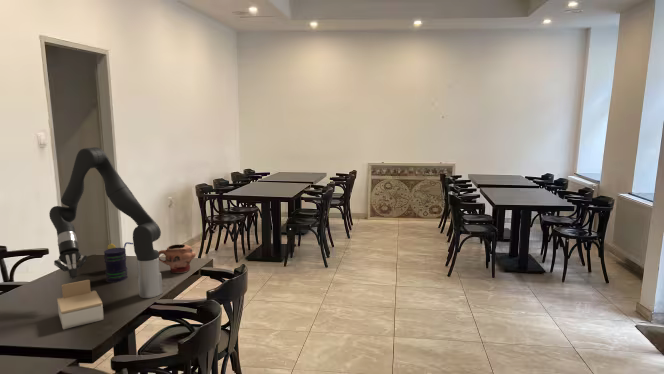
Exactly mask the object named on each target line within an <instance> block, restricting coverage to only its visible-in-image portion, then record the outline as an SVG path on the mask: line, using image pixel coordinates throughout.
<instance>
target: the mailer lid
mask: <svg viewBox="0 0 664 374" xmlns="http://www.w3.org/2000/svg"><path fill="white" fill-rule="evenodd" d="M61 290H62V297H57V299H56V301H57V305H58V304H59V307H60V310H61V314H63V313H68V312H72V311H76V310H81V309H85V308H90V307H94V306H99V305H103V301H102V299H101V298H100V296H99V294H98V293H97V291H96V290H92V291H91V280H90V279H85V280H80V281H75V282H73V281H72V282H69V283H65V284H61Z"/></svg>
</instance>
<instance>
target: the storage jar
mask: <svg viewBox="0 0 664 374" xmlns="http://www.w3.org/2000/svg"><path fill="white" fill-rule="evenodd" d="M125 249H126V247H125V248H124V247H116V248H112V249H105V250H104V251H103V253H104V256H103V258H104V263H105V271H104V272H105V278H106V282H108V283H118V281H119V282H122V281H125V280H127V279H128V267H127V262H126V261H127V253H126V252H125Z"/></svg>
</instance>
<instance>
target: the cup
mask: <svg viewBox="0 0 664 374" xmlns="http://www.w3.org/2000/svg"><path fill="white" fill-rule="evenodd" d="M127 245H134V244H133V242H127V241H126V242H125V243H124V246H123V248H125V252H126V247H127ZM112 248H117V247H116V245H115V244H114V243H110V244H108V245H107V249H106V250H108V249H112Z"/></svg>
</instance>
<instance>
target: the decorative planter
mask: <svg viewBox="0 0 664 374" xmlns="http://www.w3.org/2000/svg"><path fill="white" fill-rule="evenodd" d="M158 252H159V262H161V263H163V264H165V265H166V266H169V267H170V272H171V273H173V274H183V273H188V272H189V271H190V269H191V262H192V261H193V260H194V259H195V258H196V255H197V254H196V252H195V251H193V247H192V246H191V245H188V244H180V243H179V244H171V245H169V246H167V247H166V249H161V250H159V251H158ZM161 254H162V255H164V256H165V260H162V259H161V258H160V256H161Z"/></svg>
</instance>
